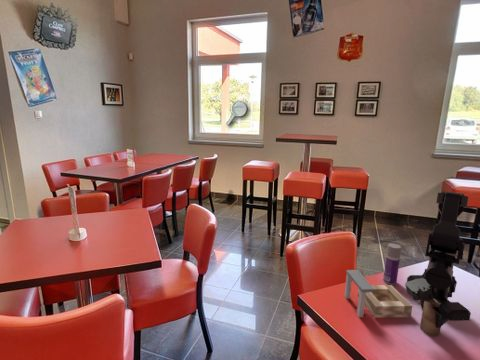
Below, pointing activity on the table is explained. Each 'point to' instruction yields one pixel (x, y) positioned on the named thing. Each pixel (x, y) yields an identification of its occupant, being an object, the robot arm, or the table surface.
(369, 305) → the socket block
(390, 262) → the container
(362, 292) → the grey arch frame
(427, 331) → the peg
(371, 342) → the table surface
